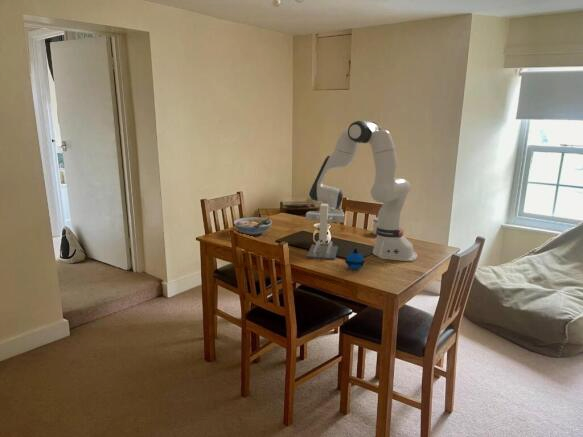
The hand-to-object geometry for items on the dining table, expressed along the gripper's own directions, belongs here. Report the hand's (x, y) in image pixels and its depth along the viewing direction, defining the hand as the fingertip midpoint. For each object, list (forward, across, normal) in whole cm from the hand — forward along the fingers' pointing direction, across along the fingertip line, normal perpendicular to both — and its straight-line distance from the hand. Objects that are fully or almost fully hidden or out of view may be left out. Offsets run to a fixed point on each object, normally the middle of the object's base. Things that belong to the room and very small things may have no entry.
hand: (323, 220), depth 222 cm
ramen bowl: (-27, -44, +18) cm, 55 cm away
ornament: (+21, +17, +18) cm, 32 cm away
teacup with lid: (-46, +31, +18) cm, 58 cm away
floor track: (0, 0, +18) cm, 18 cm away
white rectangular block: (0, 0, +10) cm, 10 cm away
